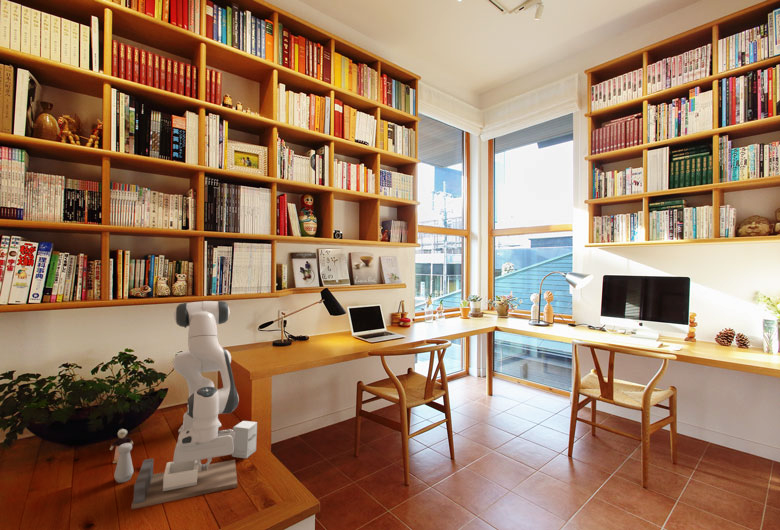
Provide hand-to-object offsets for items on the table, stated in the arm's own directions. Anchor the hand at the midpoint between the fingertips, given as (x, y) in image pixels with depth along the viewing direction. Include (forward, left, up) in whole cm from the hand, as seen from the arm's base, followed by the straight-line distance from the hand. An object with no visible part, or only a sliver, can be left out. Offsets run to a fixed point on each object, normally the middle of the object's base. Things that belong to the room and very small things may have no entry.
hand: (203, 469), depth 136 cm
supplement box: (-16, +15, -4) cm, 22 cm away
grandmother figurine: (-29, -31, -4) cm, 42 cm away
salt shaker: (-12, -27, -4) cm, 30 cm away
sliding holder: (0, -7, -2) cm, 8 cm away
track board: (0, -5, -4) cm, 6 cm away
